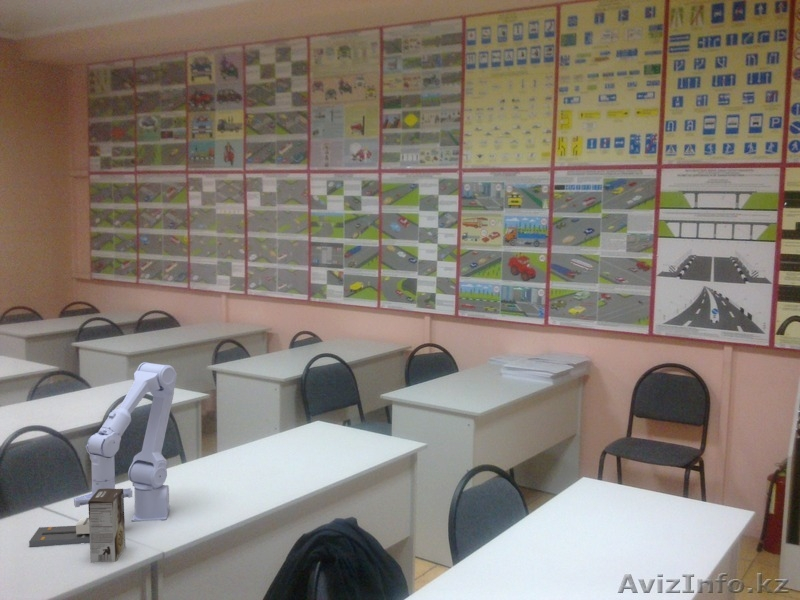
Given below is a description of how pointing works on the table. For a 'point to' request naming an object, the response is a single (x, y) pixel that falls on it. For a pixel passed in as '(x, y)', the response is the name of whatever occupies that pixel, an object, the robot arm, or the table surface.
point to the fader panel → (58, 536)
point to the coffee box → (106, 525)
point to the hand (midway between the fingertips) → (104, 527)
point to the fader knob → (83, 526)
